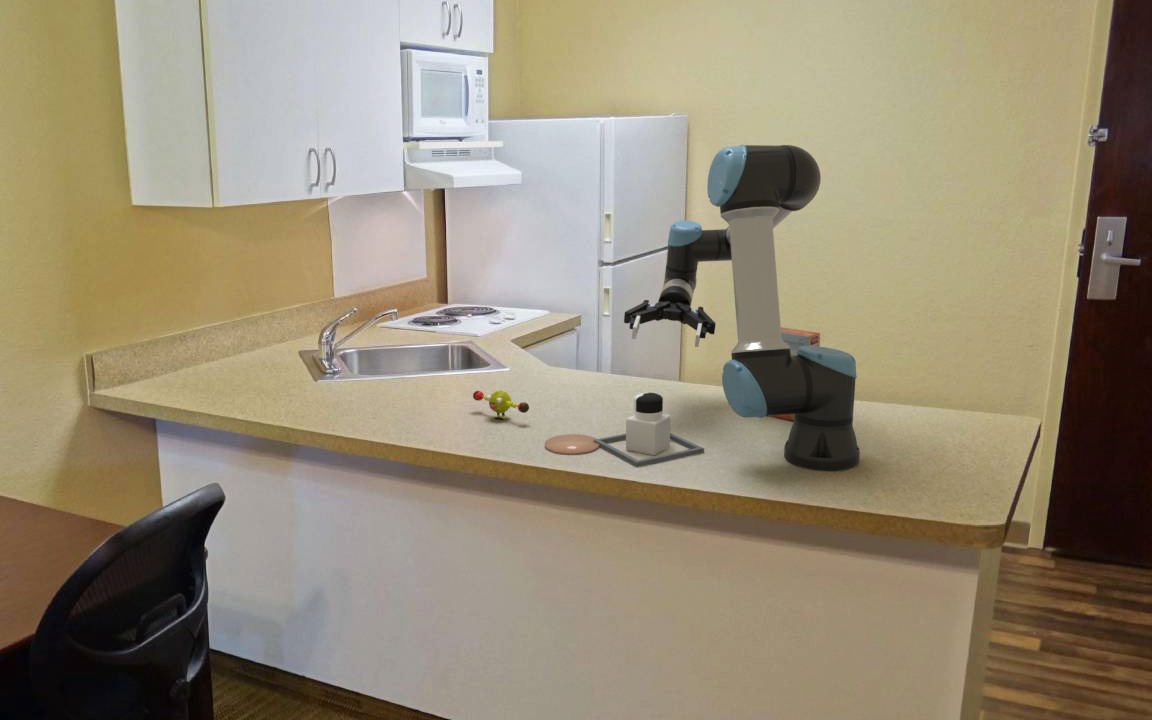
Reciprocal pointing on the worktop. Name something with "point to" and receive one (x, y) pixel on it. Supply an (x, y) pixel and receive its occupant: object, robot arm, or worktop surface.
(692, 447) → the gray square frame
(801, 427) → the robot arm
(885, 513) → the worktop surface
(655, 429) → the medicine bottle
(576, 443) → the coaster
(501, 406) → the toy figure
